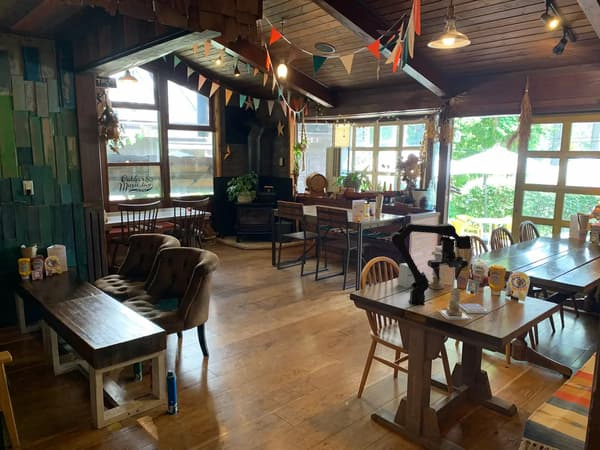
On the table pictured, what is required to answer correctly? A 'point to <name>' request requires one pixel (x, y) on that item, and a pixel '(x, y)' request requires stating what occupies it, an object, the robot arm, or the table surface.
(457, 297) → the wooden stamp
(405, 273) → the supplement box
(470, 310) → the ink pad
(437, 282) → the candle holder
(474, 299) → the table surface
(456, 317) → the marked card
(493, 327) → the table surface
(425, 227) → the robot arm
